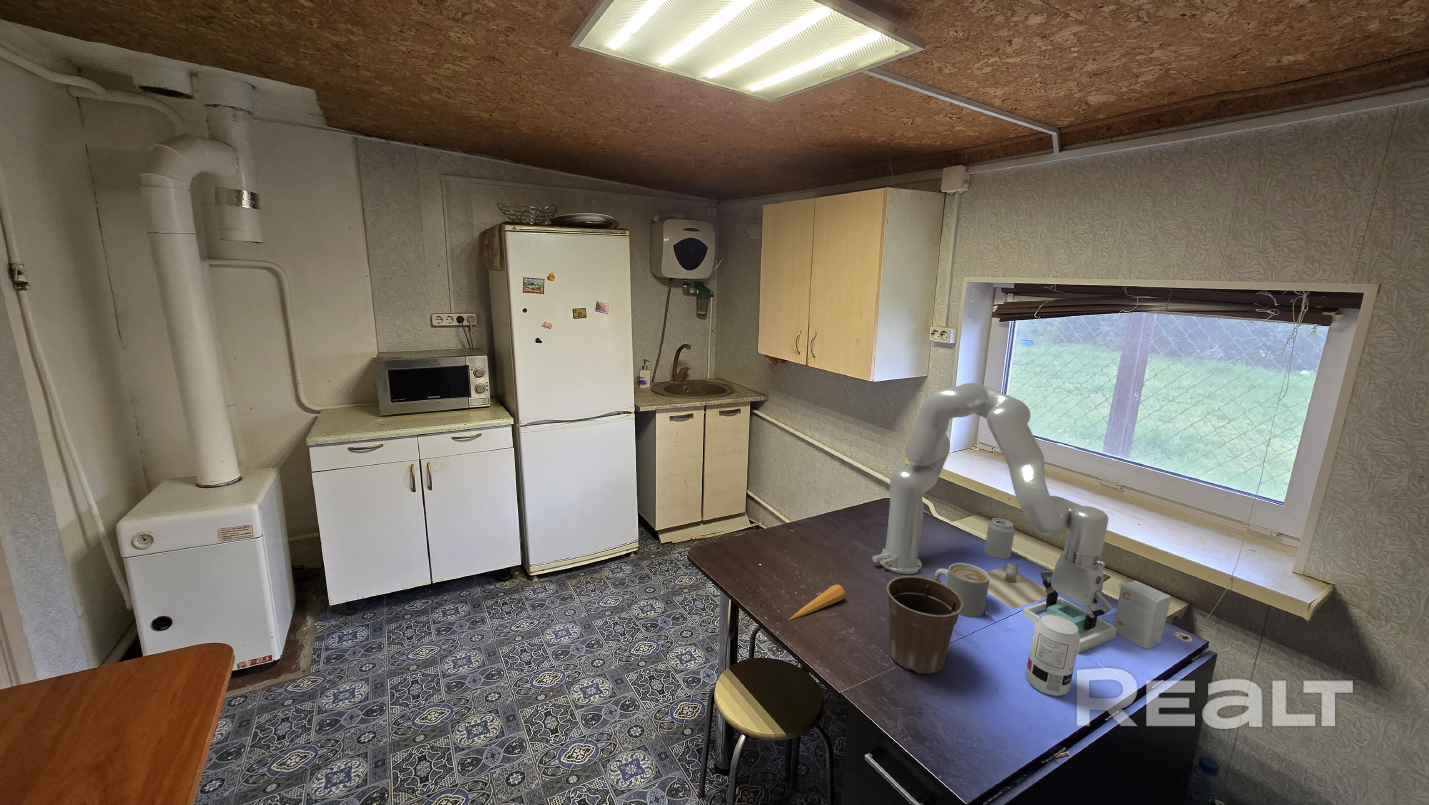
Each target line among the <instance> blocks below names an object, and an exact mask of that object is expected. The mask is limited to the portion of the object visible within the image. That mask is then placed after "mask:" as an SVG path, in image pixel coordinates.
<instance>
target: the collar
mask: <svg viewBox="0 0 1429 805" xmlns="http://www.w3.org/2000/svg"><path fill="white" fill-rule="evenodd" d="M1068 602H1069V601H1068ZM1068 602H1066V601H1064V602H1061V603H1058V604H1055V605H1052V606H1050V607H1048V608H1047V609H1046V613H1045V614H1055V615H1059V616H1062V617H1064V618H1066V619H1068V620H1070V621H1071V622H1073V623H1074V624H1075V625H1076V626H1077V628H1078V632H1079V634H1082V633H1084V632H1087V631H1090V630H1087V631H1085V630H1084V629H1083V626H1084V622H1085V617H1086V615H1088V613H1086V612H1084V611H1082V610H1080V609H1079V608H1080V607H1079V608H1077V607H1075V606H1073V605H1071V604H1070V603H1071V602H1070V603H1068Z"/></svg>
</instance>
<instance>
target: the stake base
mask: <svg viewBox="0 0 1429 805" xmlns="http://www.w3.org/2000/svg"><path fill="white" fill-rule="evenodd" d="M1018 571H1019V565H1018V564H1017V563H1015V562H1011V561H1010V562H1007V565H1006V566H1003V567H1000V568H996V569H992V570H989V571H986V572H987V573H988V574H989V577H990V579H989V586H988V592H987V595H990V596H991V597H993V598H994V599H996V600H999V601H1000V602H1001V603H1003V604H1004V605H1007V606H1008V607H1009V608H1011V609H1013V610H1016V609H1017V608H1020V607H1024V606H1027V605H1030V604H1033V603H1036V602H1038V601H1042V600H1044V599H1045V600H1046V599H1047V593H1046V588H1045V586H1044V585H1042V584H1039V583H1037V582H1036V581H1034V580H1032V579H1029V577H1026V576H1024V575H1022V574H1021V573H1019V572H1018Z"/></svg>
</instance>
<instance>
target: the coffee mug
mask: <svg viewBox="0 0 1429 805" xmlns="http://www.w3.org/2000/svg"><path fill="white" fill-rule="evenodd" d="M987 572H988V571H986V570H985V569H982V568H981V567H979V566H977V565H974V564H971V563H966V562H955V563H953V564H951V565H949V566H948V569H947V568H939V569H938V568H937V570H936V571H935V572H934V576H933V580H935V581H937V582H940V583H942V582H941V579H940V577H941V576H942V575H943V576H944V577H945V583H943V584H944V585H946V586H948V587H950V588H951V589H953V590H954V591H955V592H957V593H958V594H959V596H960V597H961V598H962V600H963V609H962V611H961V612H960V613H959V615H960V616H963V617H968V618H978V617H980V616H982V615H984V614H985V610H986V603H987V596H988V593H987V592H988V586H989V579H990V577H989V574H988V573H987Z"/></svg>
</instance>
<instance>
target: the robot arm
mask: <svg viewBox="0 0 1429 805" xmlns="http://www.w3.org/2000/svg"><path fill="white" fill-rule="evenodd" d="M973 414H975V415H977V416H979V417H981V418H984V419H986V423H987V427H988V429H989V430H990V433H991V434H992V436H993V438H994V441H995V442H996V444H997V446H998V448H999V450H1000V452H1001V454H1002V456H1003V458H1004V461H1005V462H1006V464H1007V466H1008V471H1009V476H1010V480H1011V484H1012V487H1013V491H1014V495H1015V497H1016V500H1017V503H1018V505H1019V507H1020V509H1021V510H1022V513H1023V516H1024V517H1025V519H1026V521H1027V522H1028V524H1029V526H1030V527H1031V528H1032V529H1033V531H1035V532H1036V533H1038V534H1040V535H1042V536H1047V537H1050V536H1051V537H1053V536H1056V535H1059V533H1061V532H1062V531H1063V530H1064V529H1065V528H1066V530H1067V533H1066V538H1065V543H1064V547H1063V548H1064V549H1063V552H1062V553H1060V555H1059V557H1058V559H1057V561H1056V563H1055V566H1054V569H1053V571H1052V570H1047V571H1046V570H1044V571H1041V572H1040V577H1041V580H1042V586H1043V587H1045V588H1046V593H1047V598H1045V601H1046V603H1047V604H1046V608H1048V607H1050V606H1052V605H1055V604H1057V599H1058V597H1059V594H1061V595H1062V596H1064V597H1066V598H1068V599H1069V600H1072V601H1073V602H1075V603H1077V604H1080V605H1081V606H1084V608H1085V611H1087V612H1088V615H1086V617H1085V622H1084V626H1083V629H1084V630H1085V631H1087V630H1090V629H1093V628H1095V626H1096V621H1097V617H1098V618H1099V617H1100V616H1104V615H1107V613H1109V612H1110V611H1111V610H1113V609H1114V608H1113V605H1112V604H1111V603H1110V602H1109V601H1108V600H1107V599H1106V598H1105V597H1104V596H1103V586H1104V570H1103V568H1104V567H1105V566H1106V561H1103V559H1102V558H1103V557H1102V552H1103V548H1104V545H1105V544H1104V543H1105V538H1106V533H1107V529H1108V524H1109V516H1108V514H1107V513H1106V512H1104V511H1103V510H1101V509H1099V508H1096V507H1093V506H1088V505H1082V504H1079V503H1077V502H1074V501H1071V500H1069V499H1066V498H1065V497H1063V496H1062V497H1061V496H1059V495H1051V494H1050V492H1049V489H1048V487H1047V483H1046V478H1045V456H1044V453H1043V452H1042V450H1041V448H1040V446H1039V443H1038V441H1037V440H1036V438H1035V436H1034V434H1033V432H1032V430H1031V428H1030V426H1029V424H1028V423H1029V422H1030V420H1031V410H1030V408H1029V407H1028V405H1026V404H1025V402H1023V401H1022V400H1020V399H1018V398H1015V397H1014V396H1010V395H1008V394H1005V393H1003V392H1000V391H998V390H995V389H994V388H991V387H988V386H986V385H983V384H981V383H977V382H967V383H964V384H961V385H957V386H954V387H953V386H952V387H948V388H943V389H938V390H935V391H934V392H932V393H931V394H929V395H928V396H927V397H926V398H925V400H924V401H923V403H922V405H921V408H920V410H919V413H918V416H917V418H916V421H915V422H914V425H913V428H912V431H911V434H910V436H909V438H908V441H907V442H906V447H905V455H906V456H905V457H906V459H907V460H908V462H909V463H907V464H905V465H903V466H901V467H900V468H899V467H898V469H896V470H895V471H894V472H893V474H892V475H891V477H890V481H889V494H890V495H889V496H890V498H889V499H890V500H889V509H888V510H889V512H888V522H887V528H886V529H887V531H886V538H885V548H882V552H881V553H879V554H877V555H873V556H871V557H872V558H871V559H872V562H874V563H878V562H879V563H880V565H881V566H882V567H883V568H885V569H886V570H888V571H891V572H894V573H896V574H902V575H914V574H917V573H919V572H920V571H921V570H922V569H921V568H922V566H923V564H922V561H921V559H920V558H918V555H919V548H920V539H921V533H922V532H921V531H922V525H923V516H924V501H923V497H924V493H926V492H927V491H930V489H932V488H933V487H934V486H936V485H935V484H937V482H938V479H940V475H941V474H942V471H943V469H944V466H945V463H946V460H947V459H948V457H949V456H948V455H949V453H950V449H951V442H950V438H949V437H948V435H947V434H946V433H947V431H948V428H949V425H950V421H951V419H955V418H965V417H968V416H971V415H973ZM1050 578H1051V580H1050ZM1097 604H1100V606H1101V608H1099V607H1098V605H1097Z"/></svg>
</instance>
